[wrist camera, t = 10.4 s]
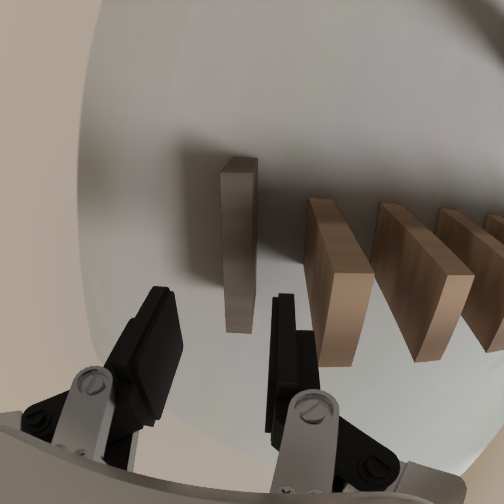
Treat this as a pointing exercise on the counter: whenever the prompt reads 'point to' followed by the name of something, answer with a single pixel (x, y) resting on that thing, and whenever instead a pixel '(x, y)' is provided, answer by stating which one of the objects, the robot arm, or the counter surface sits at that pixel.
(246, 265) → the domino
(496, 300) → the domino
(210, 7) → the counter surface
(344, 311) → the domino
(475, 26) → the counter surface
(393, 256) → the domino
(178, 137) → the counter surface
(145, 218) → the counter surface
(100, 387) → the robot arm
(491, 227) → the domino
